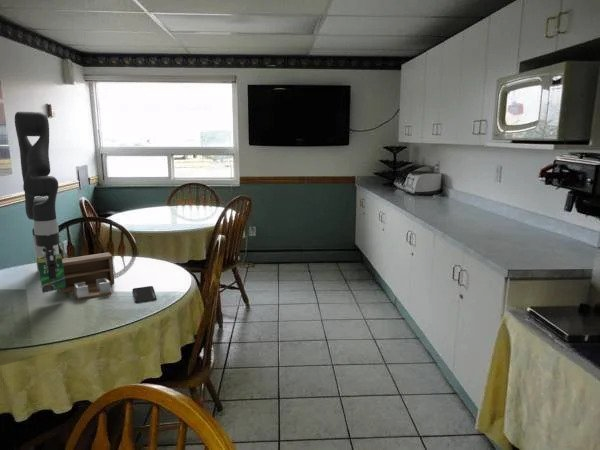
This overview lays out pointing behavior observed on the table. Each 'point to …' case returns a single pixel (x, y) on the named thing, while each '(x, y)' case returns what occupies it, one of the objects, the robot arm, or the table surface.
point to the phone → (144, 294)
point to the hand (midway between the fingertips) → (52, 277)
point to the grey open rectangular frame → (101, 285)
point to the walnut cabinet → (88, 272)
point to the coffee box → (44, 275)
